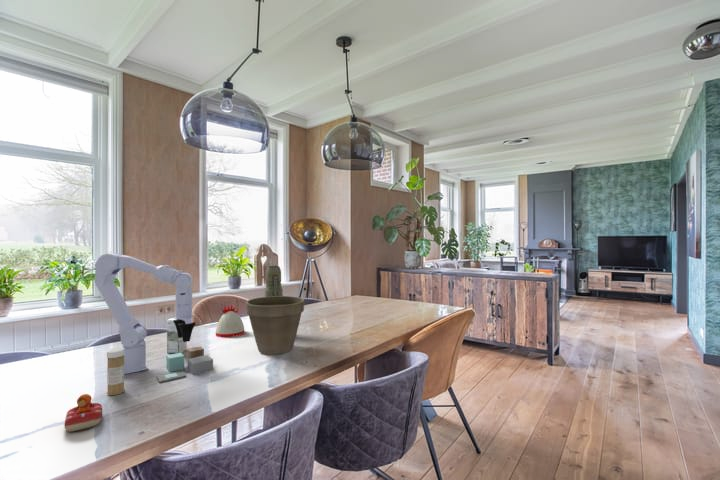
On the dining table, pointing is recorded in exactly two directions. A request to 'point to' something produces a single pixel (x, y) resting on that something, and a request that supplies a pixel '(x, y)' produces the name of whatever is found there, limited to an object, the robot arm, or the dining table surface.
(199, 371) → the grey block
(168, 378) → the card
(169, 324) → the syrup box
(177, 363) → the teal block
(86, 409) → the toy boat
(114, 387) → the sprinkles bottle
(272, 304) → the plant pot
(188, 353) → the walnut block
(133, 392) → the dining table surface
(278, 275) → the green cactus
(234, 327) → the white domed piece
